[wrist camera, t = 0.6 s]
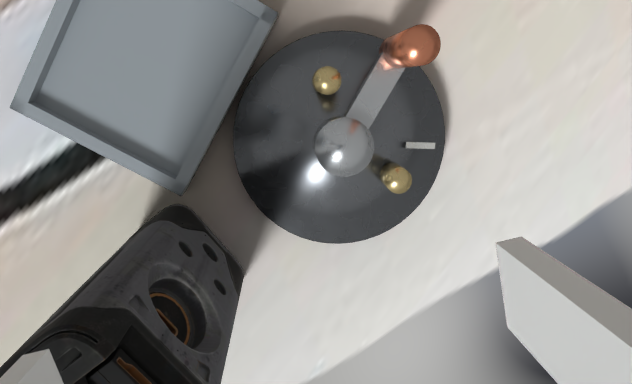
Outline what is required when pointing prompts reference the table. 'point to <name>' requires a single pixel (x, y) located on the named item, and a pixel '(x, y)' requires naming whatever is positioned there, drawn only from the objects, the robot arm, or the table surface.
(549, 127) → the table surface
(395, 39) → the crank
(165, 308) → the electronic device
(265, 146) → the crank base
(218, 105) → the tray
